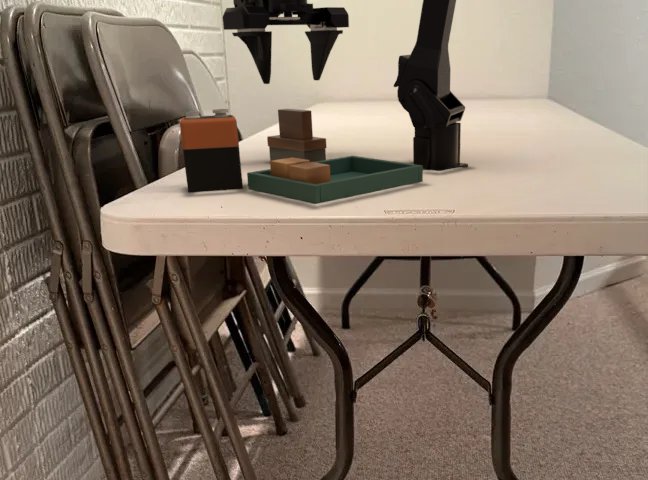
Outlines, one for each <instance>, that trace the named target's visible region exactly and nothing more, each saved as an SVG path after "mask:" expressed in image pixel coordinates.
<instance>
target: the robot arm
mask: <svg viewBox="0 0 648 480" xmlns="http://www.w3.org/2000/svg"><path fill="white" fill-rule="evenodd" d="M456 3H457V0H422V4H421V10H420V18H419V24H418V30H417V35H416V41H415V44H414V46H413V48H412V50H411V53H410V54H403V55H402V54H401V55H399V56H398V61H397V69H398V70H397V77H396V80H395V82H394V84H393V88H397V93H396V94H397V96H396V97H397V101H398V103H399V104H400V105H401V108H402V109H404V110H405V111H406V112H407V113H408V115H409V119H410V121H411V124H412V126H413V128H414V136H413V137H412V145H413V146H412V148H413V149H412V153H413V154H412V159H413V162H412V164H416V165H422V166H423V170H428V171H429V170H430V171H434V172H442V171H447V170H452V169H457V168H462V169H464V168H465V169H466V168H469V163H465V162H461V134H462V133H461V128H462V126H461V125H462V122H461V121H462V119H463V116H464V113H465V111H466V106H465V105H464V104H463V103H462V102H461V100H460V99H459V98H458V97H457V96H456V95H455V94H454V93H453V91H451V62H450V54H449V43H450V37H451V33H452V32H451V31H452V27H453V22H454V16H455V15H454V14H455V10H456ZM233 6H234V7H233ZM233 6H232V7H226V8H225V10H224V12H223V15H222V27H223V30H224V31H230V30H231V31H234V30H235V31H236V32H231V34H232V36H233V37H237V38H239V40H240V41H242V42H243V43H244V45H246V46H245V47H247V50H248V51H249V53H250V55H251V57H252V60H253V61H254V64H255V67H256V69H257V71H258V74H259V76H260V78H261V81H262V83H263V84H264V85H270V82H271V76H272V46H273V43H272V42H273V38H272V37H273V31H270V30H269V31H268V30H267V31H266V28H267V27H268V26H307V27H308V29H309V31H307V30H306V31H304V34H305V36H306V37H307V40H308V42H309V44H310V61H311V62H310V63H311V74H312V79H313V81H320V80H321V78H322V74H323V72H324V69H325V67H326V64H327V62H328V59H329V57H330V55H331V51H332V50H333V48H334V45H335V43H336V41H337V39H338V37H339V35H343V33H344V30H343V29H339V28H350V16H349V13H348V11H347V10H346V8H345V7H343V6H342V7H341V6H340V7H339V6H338V7H337V6H335V7H334V6H333V7H332V6H331V7H330V6H328V7H327V6H325V7H314V4H313V3H308V0H233ZM281 15H283V16H281Z"/></svg>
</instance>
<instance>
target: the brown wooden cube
mask: <svg viewBox="0 0 648 480" xmlns="http://www.w3.org/2000/svg"><path fill="white" fill-rule="evenodd" d="M303 163H309V160H305V159H299V158H293V157H292V158H286V159H279V160H273V161H270V160H269V166H270V167H269V169H271V176H275V177H280V178H285V179H290V175H289V166H290V165H296V164H303Z"/></svg>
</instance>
